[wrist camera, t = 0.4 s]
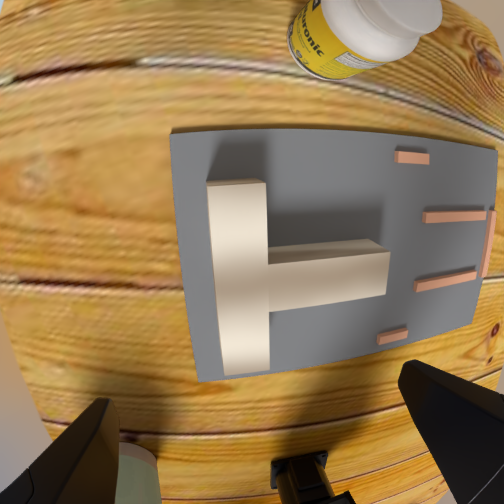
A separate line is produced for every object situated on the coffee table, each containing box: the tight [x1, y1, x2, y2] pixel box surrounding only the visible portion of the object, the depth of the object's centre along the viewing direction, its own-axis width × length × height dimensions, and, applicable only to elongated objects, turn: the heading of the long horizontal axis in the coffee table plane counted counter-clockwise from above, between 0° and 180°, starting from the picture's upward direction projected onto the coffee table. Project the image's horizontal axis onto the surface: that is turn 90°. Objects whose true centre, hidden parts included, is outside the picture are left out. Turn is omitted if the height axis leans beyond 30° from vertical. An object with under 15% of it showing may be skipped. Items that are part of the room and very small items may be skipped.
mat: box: [170, 129, 498, 382], centre depth 22 cm, size 18×28×1 cm, turn 92°
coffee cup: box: [115, 442, 162, 504], centre depth 20 cm, size 8×9×12 cm
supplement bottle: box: [287, 0, 442, 80], centre depth 13 cm, size 5×5×10 cm
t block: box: [206, 178, 391, 376], centre depth 20 cm, size 12×11×3 cm
